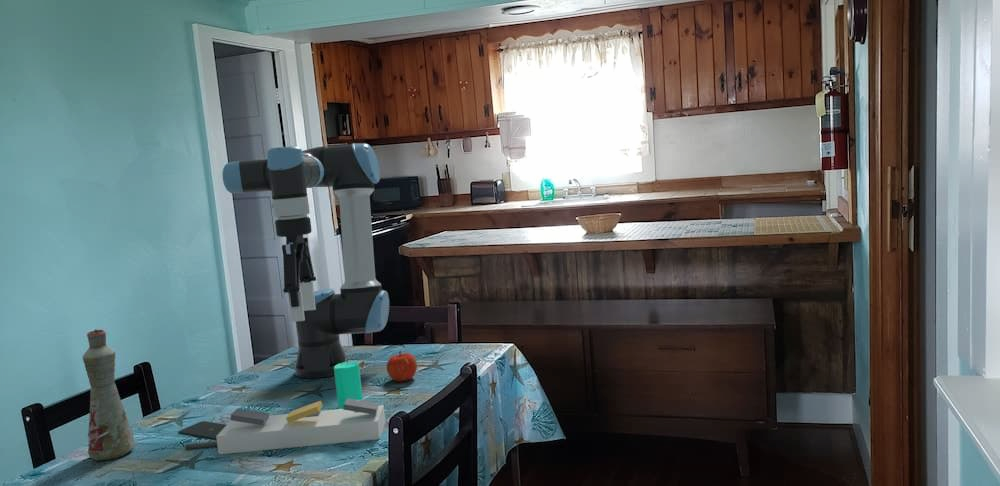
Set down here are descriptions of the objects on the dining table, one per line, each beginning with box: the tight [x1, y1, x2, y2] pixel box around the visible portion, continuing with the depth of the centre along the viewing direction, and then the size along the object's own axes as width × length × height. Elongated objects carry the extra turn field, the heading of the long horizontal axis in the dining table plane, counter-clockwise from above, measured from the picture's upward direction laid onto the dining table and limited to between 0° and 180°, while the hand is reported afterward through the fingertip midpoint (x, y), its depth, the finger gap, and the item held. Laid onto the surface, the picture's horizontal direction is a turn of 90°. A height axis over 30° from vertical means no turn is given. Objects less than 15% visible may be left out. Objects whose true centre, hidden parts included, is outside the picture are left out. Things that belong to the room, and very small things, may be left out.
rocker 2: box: [286, 400, 324, 423], centre depth 154 cm, size 4×7×1 cm, turn 92°
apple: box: [386, 350, 418, 383], centre depth 192 cm, size 8×8×8 cm
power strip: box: [184, 404, 386, 455], centre depth 156 cm, size 10×43×4 cm, turn 92°
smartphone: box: [177, 420, 227, 441], centre depth 165 cm, size 7×1×15 cm
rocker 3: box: [343, 398, 380, 415], centre depth 155 cm, size 4×7×1 cm, turn 92°
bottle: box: [82, 328, 136, 461], centre depth 154 cm, size 9×9×28 cm
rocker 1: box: [230, 408, 270, 425], centre depth 154 cm, size 4×7×1 cm, turn 92°
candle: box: [334, 359, 364, 409], centre depth 174 cm, size 6×6×12 cm
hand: (304, 315), depth 160 cm, fingers open, 10 cm apart
